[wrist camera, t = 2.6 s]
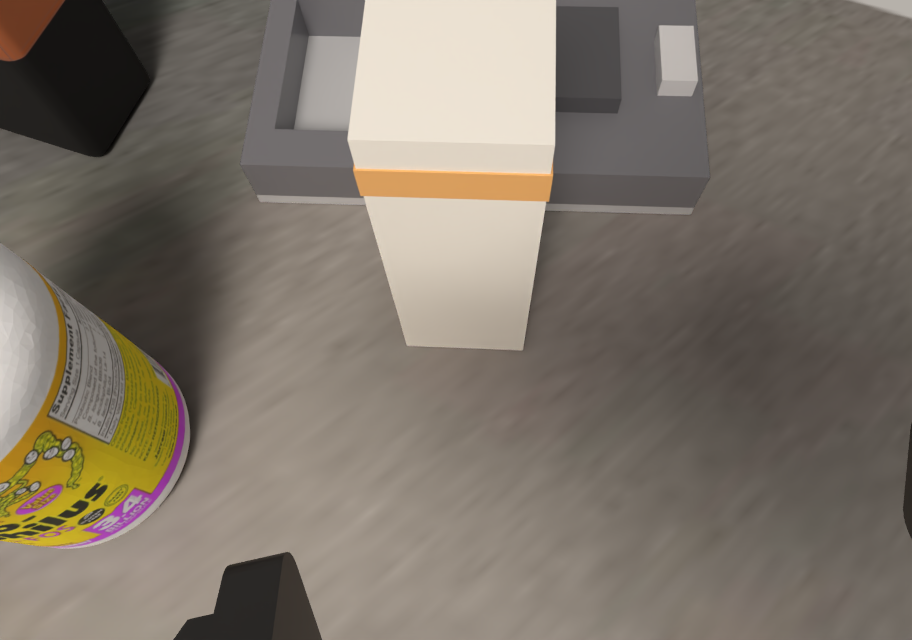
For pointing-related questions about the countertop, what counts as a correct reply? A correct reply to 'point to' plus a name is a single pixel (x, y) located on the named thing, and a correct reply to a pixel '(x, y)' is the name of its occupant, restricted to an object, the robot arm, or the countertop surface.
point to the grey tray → (576, 106)
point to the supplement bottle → (78, 419)
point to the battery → (66, 73)
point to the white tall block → (457, 160)
